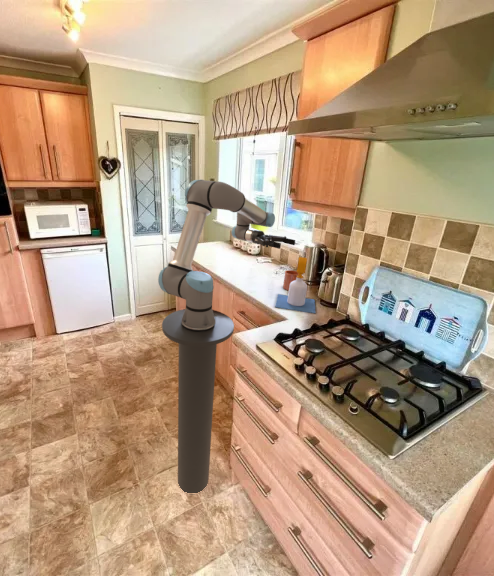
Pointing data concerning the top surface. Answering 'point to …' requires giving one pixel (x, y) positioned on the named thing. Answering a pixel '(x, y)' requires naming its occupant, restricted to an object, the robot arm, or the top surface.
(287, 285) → the terracotta cup
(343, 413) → the top surface
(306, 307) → the blue mat
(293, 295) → the soap bottle
